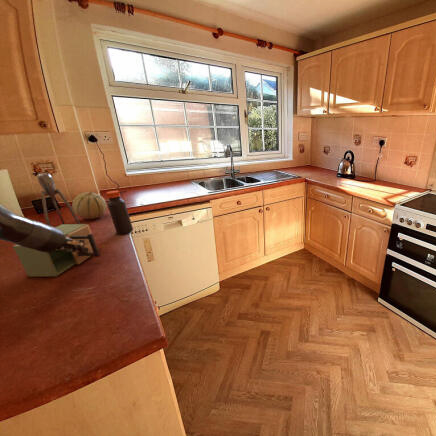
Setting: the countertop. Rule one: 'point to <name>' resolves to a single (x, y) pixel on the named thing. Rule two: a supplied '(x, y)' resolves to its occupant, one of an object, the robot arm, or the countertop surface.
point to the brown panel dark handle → (89, 243)
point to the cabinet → (48, 256)
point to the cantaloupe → (89, 205)
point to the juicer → (52, 195)
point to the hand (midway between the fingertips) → (85, 251)
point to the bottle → (119, 213)
